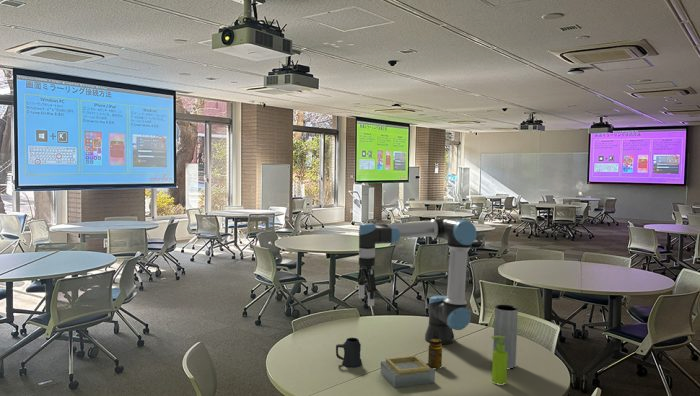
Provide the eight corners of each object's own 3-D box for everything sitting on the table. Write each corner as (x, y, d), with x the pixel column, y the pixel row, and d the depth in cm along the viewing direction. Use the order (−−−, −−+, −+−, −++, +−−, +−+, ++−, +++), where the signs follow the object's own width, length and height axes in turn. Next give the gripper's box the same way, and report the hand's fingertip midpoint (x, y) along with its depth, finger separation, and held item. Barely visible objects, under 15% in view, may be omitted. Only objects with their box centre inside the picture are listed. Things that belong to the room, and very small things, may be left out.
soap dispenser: (487, 380, 225) (489, 333, 224) (503, 379, 225) (504, 333, 224) (492, 385, 219) (494, 338, 218) (508, 385, 219) (510, 338, 218)
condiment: (445, 367, 239) (446, 341, 238) (431, 370, 234) (432, 344, 233) (434, 362, 245) (435, 336, 244) (420, 365, 240) (421, 339, 239)
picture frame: (415, 366, 239) (415, 352, 238) (434, 382, 221) (435, 367, 220) (378, 370, 233) (378, 355, 233) (394, 387, 215) (395, 372, 215)
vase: (502, 371, 235) (504, 311, 233) (488, 363, 244) (490, 305, 243) (520, 368, 239) (522, 309, 237) (505, 360, 248) (507, 303, 247)
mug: (362, 360, 245) (362, 336, 244) (362, 367, 236) (362, 343, 235) (336, 359, 245) (336, 335, 244) (335, 367, 236) (335, 342, 235)
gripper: (351, 252, 255) (350, 296, 256) (368, 262, 231) (367, 309, 233) (365, 252, 257) (365, 295, 259) (384, 261, 234) (383, 308, 235)
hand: (366, 302), depth 246 cm, fingers open, 13 cm apart
